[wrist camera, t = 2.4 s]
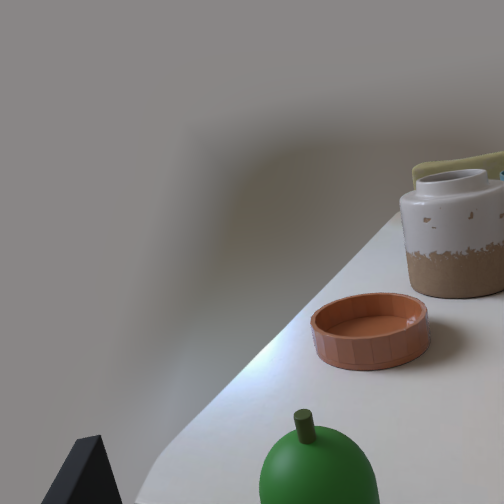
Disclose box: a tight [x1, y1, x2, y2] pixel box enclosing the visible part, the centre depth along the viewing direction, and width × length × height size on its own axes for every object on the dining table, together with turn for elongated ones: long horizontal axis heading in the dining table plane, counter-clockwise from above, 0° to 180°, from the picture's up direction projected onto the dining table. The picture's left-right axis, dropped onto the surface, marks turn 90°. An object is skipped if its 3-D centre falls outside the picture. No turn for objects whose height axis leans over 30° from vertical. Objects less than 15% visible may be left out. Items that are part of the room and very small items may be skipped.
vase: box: [400, 169, 504, 298], centre depth 72 cm, size 15×15×17 cm
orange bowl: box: [310, 293, 430, 370], centre depth 59 cm, size 14×14×4 cm
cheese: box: [412, 151, 504, 190], centre depth 103 cm, size 22×10×15 cm, turn 58°
